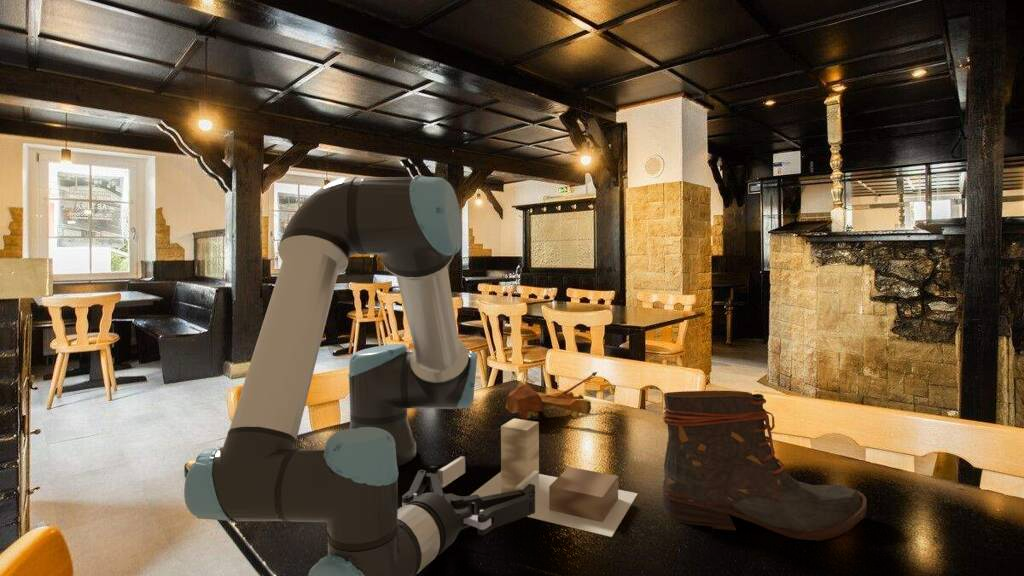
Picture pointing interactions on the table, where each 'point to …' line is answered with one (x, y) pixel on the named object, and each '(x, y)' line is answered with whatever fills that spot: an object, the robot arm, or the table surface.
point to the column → (518, 452)
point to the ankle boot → (742, 471)
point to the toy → (545, 401)
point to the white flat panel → (560, 518)
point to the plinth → (584, 493)
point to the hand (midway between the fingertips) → (498, 471)
